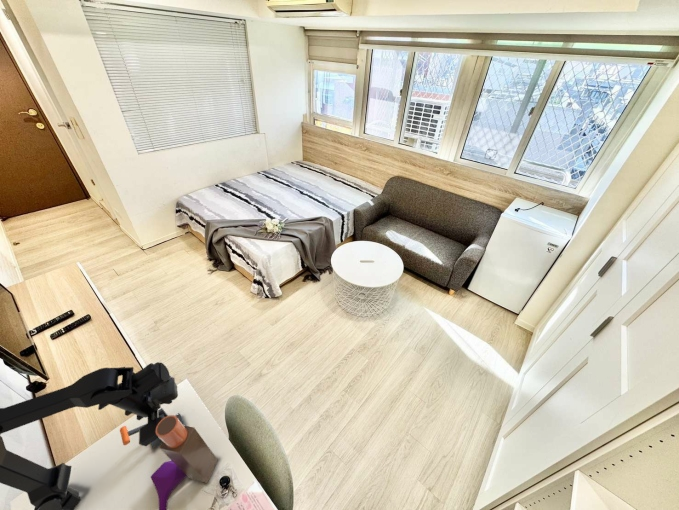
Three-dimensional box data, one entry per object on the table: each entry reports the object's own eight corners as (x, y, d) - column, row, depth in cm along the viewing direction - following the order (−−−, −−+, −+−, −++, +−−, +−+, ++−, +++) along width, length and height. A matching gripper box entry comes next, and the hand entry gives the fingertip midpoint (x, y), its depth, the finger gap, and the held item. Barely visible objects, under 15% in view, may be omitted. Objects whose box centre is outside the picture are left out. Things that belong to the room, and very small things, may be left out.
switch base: (154, 450, 89) (141, 437, 83) (150, 435, 92) (137, 422, 87) (186, 427, 94) (175, 414, 89) (180, 414, 98) (170, 400, 92)
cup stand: (190, 478, 82) (158, 448, 69) (201, 456, 87) (174, 423, 73) (207, 483, 82) (179, 453, 68) (218, 460, 86) (194, 427, 72)
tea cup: (161, 446, 69) (150, 434, 65) (175, 425, 73) (165, 413, 69) (179, 450, 68) (168, 438, 64) (191, 429, 72) (182, 416, 68)
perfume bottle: (178, 465, 78) (152, 552, 69) (192, 461, 85) (169, 540, 76) (154, 462, 79) (125, 548, 70) (170, 458, 85) (145, 536, 76)
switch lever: (123, 447, 80) (123, 441, 79) (119, 432, 83) (119, 427, 83) (166, 427, 88) (166, 422, 88) (161, 415, 92) (161, 410, 91)
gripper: (163, 410, 67) (200, 427, 78) (161, 354, 80) (193, 375, 91) (118, 440, 65) (163, 453, 75) (123, 377, 78) (161, 396, 88)
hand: (171, 415), depth 82 cm, fingers open, 9 cm apart
